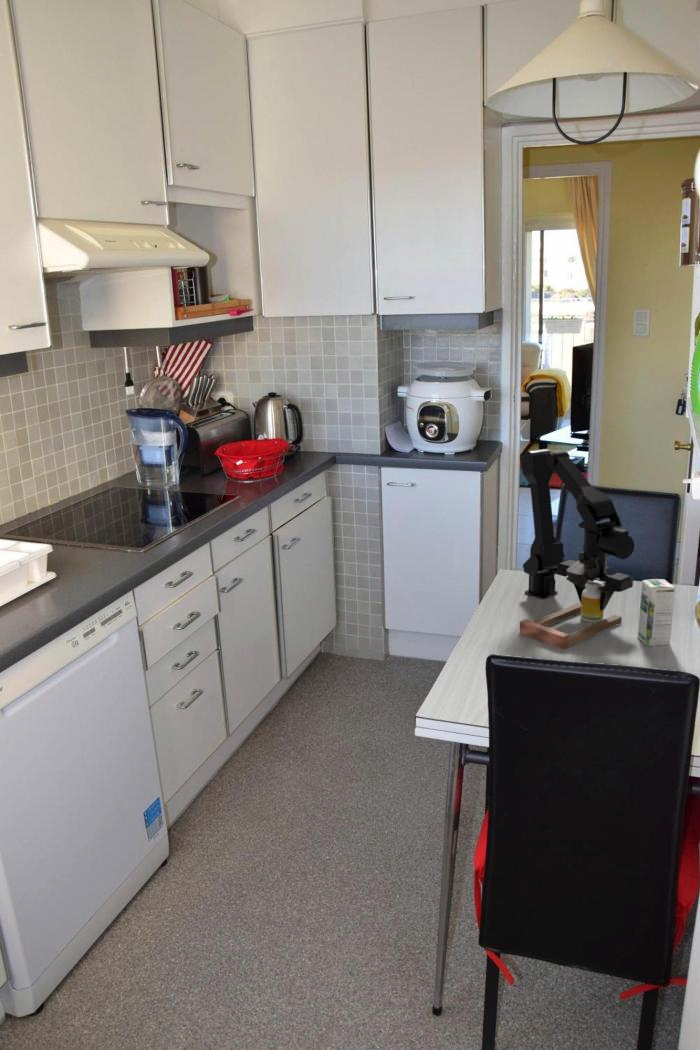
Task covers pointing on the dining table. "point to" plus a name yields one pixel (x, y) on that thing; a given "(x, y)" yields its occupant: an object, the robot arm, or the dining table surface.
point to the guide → (558, 638)
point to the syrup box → (656, 612)
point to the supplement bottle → (591, 602)
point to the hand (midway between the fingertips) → (592, 607)
